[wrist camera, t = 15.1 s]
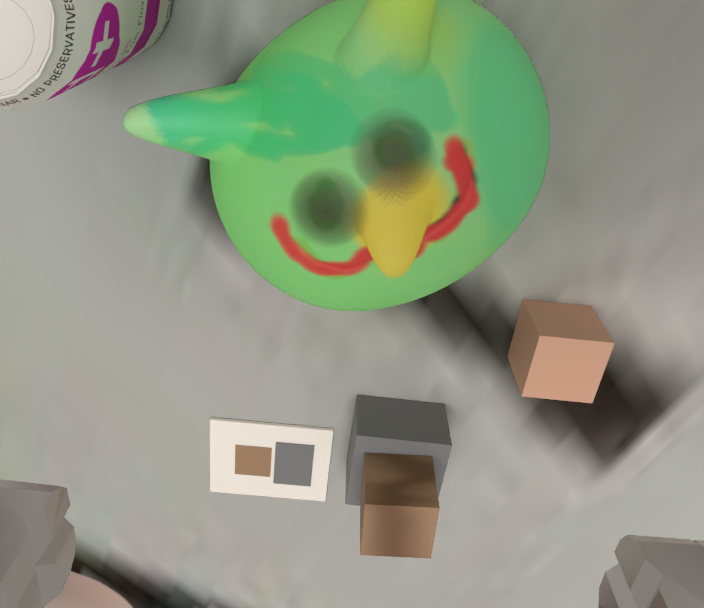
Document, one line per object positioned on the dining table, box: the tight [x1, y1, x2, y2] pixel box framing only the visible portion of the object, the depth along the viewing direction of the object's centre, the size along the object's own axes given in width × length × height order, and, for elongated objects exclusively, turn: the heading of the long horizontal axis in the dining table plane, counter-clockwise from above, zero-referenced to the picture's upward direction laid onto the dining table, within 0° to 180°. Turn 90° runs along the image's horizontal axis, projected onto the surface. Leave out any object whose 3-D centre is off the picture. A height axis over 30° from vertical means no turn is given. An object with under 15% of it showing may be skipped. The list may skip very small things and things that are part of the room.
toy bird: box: [122, 0, 550, 311], centre depth 33 cm, size 18×17×15 cm
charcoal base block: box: [345, 395, 452, 506], centre depth 50 cm, size 7×7×5 cm
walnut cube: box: [360, 452, 439, 558], centre depth 46 cm, size 5×5×5 cm
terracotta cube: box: [507, 299, 614, 403], centre depth 45 cm, size 5×5×5 cm
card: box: [210, 417, 334, 501], centre depth 54 cm, size 10×8×1 cm
